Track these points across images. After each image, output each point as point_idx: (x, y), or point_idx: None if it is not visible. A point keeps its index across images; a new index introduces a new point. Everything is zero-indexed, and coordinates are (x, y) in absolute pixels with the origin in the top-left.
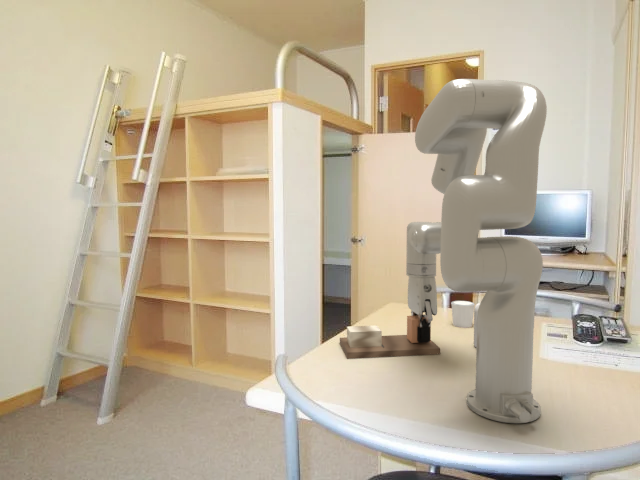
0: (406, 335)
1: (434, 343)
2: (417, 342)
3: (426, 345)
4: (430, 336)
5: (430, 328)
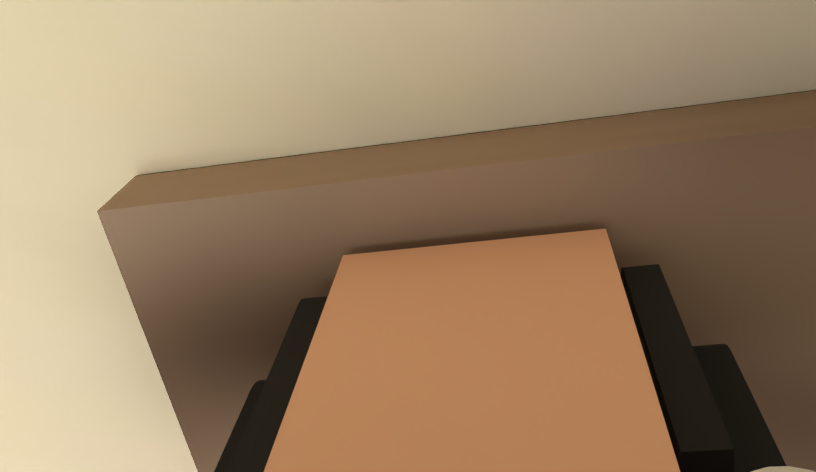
0: (219, 447)
1: (615, 155)
2: None
3: (702, 297)
4: (618, 278)
5: (650, 382)
